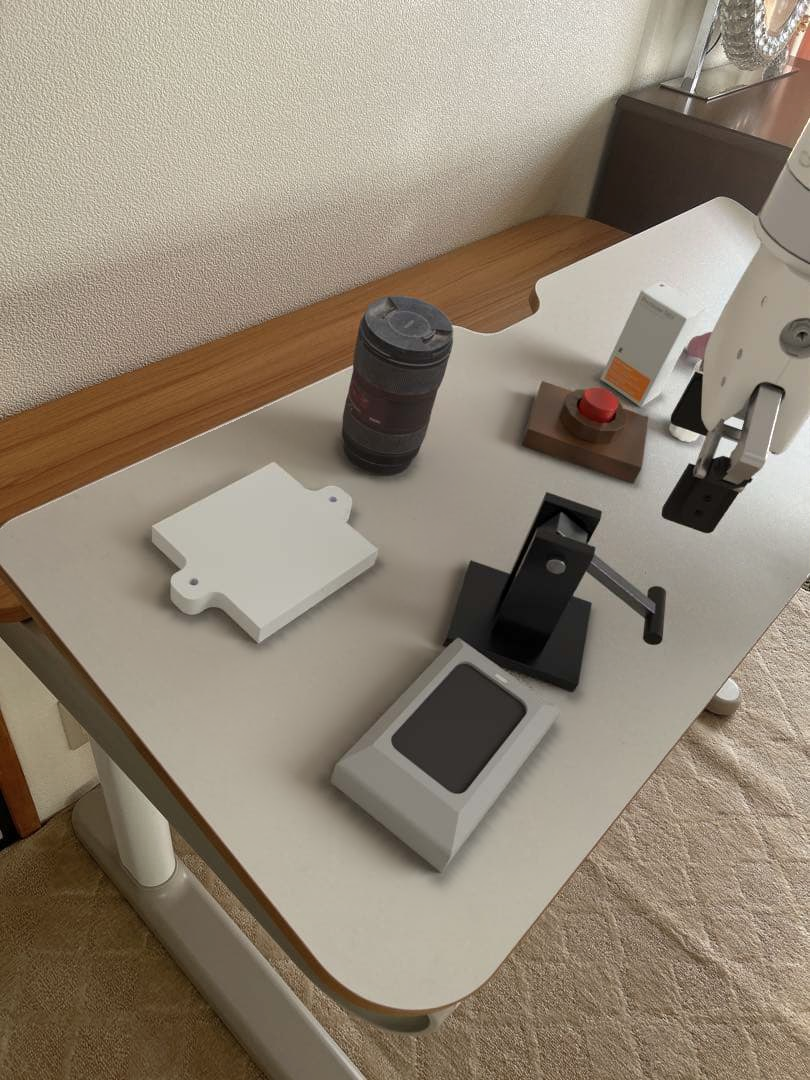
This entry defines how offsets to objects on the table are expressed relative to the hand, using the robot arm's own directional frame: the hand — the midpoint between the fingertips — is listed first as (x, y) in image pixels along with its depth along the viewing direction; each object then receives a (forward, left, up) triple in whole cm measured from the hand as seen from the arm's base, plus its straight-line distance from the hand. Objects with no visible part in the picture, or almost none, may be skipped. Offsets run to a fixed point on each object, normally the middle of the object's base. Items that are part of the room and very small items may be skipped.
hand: (688, 473), depth 56 cm
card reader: (+8, +12, -22) cm, 26 cm away
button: (+3, -30, -18) cm, 35 cm away
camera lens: (+22, -17, -22) cm, 36 cm away
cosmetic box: (-1, -42, -22) cm, 48 cm away
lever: (+1, -2, -14) cm, 14 cm away
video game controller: (-12, -53, -22) cm, 58 cm away
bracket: (+5, -2, -22) cm, 23 cm away
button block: (+3, -30, -22) cm, 37 cm away
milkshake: (-8, -37, -22) cm, 44 cm away
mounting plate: (+27, -1, -22) cm, 35 cm away
